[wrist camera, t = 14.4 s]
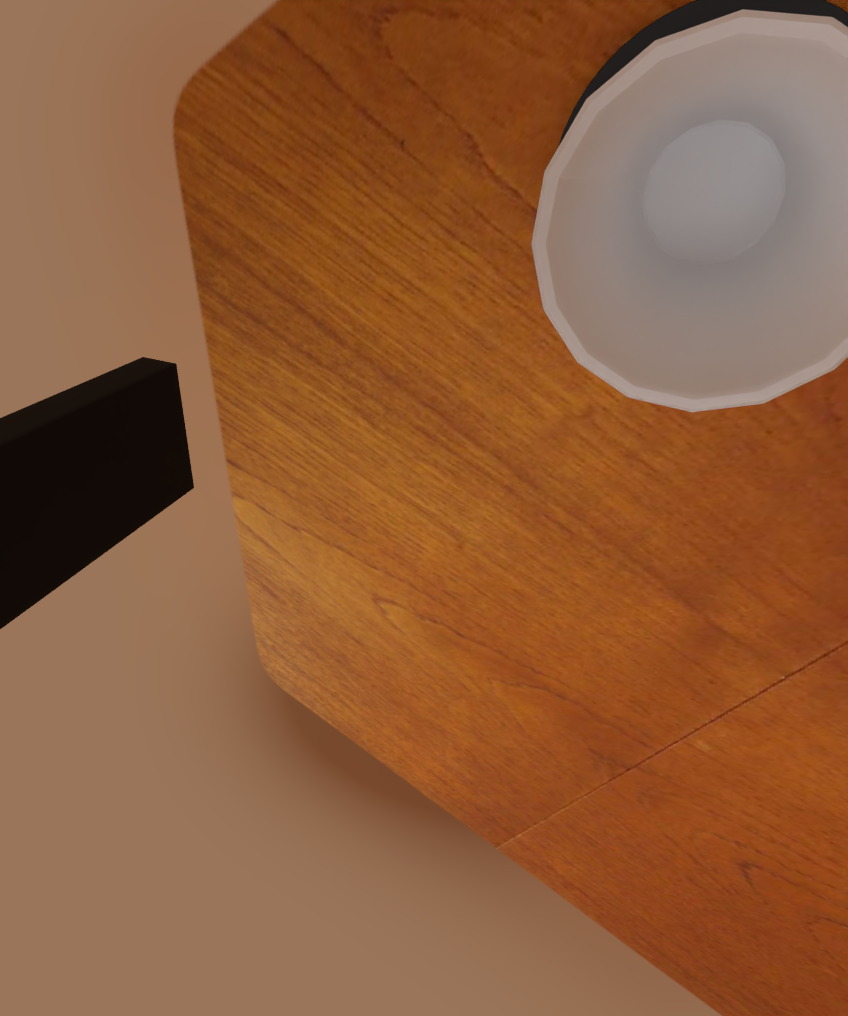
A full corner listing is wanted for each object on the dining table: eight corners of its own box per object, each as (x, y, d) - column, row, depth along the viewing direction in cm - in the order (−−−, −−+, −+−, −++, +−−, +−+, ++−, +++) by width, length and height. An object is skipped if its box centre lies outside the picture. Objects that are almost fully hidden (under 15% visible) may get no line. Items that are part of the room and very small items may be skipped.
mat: (493, 227, 32) (490, 228, 32) (716, -101, 24) (717, -105, 24) (707, 408, 33) (707, 411, 33) (998, 147, 25) (1003, 147, 24)
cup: (756, 346, 30) (782, 467, 20) (557, 264, 32) (482, 336, 21) (909, 104, 25) (1060, 93, 14) (658, 16, 26) (626, -55, 15)
